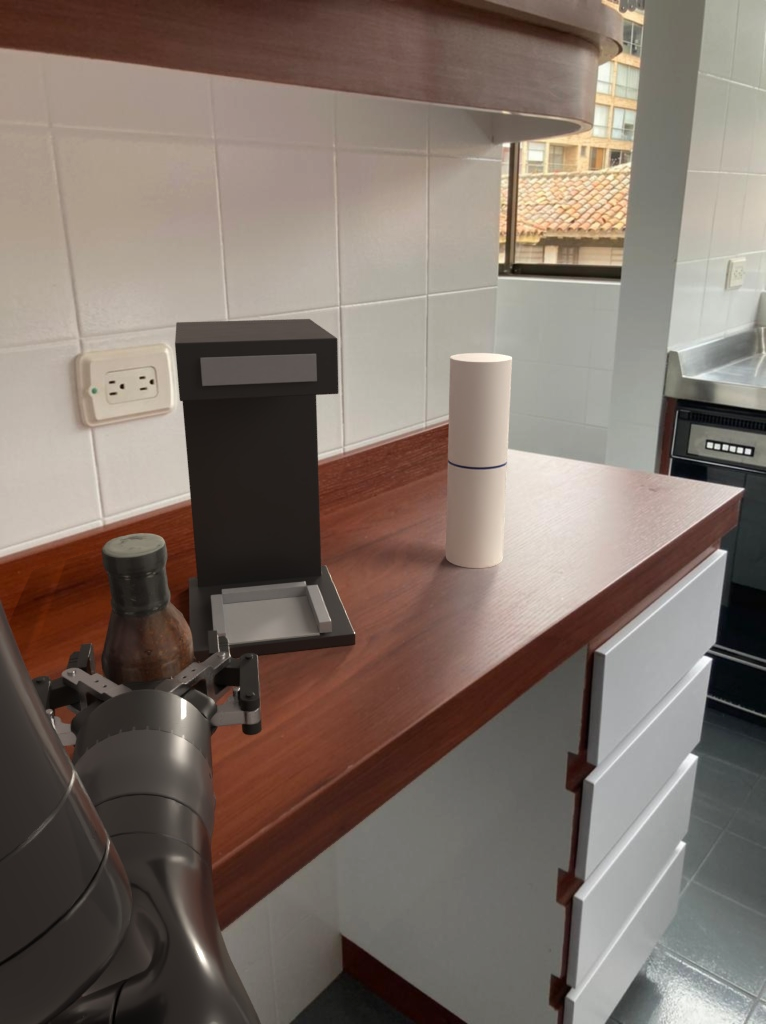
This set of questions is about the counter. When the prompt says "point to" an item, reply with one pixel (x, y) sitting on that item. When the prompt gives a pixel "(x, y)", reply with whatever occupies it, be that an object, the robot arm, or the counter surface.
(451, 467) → the cylindrical container
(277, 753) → the counter surface
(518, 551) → the counter surface
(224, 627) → the coffee maker
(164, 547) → the sauce bottle
